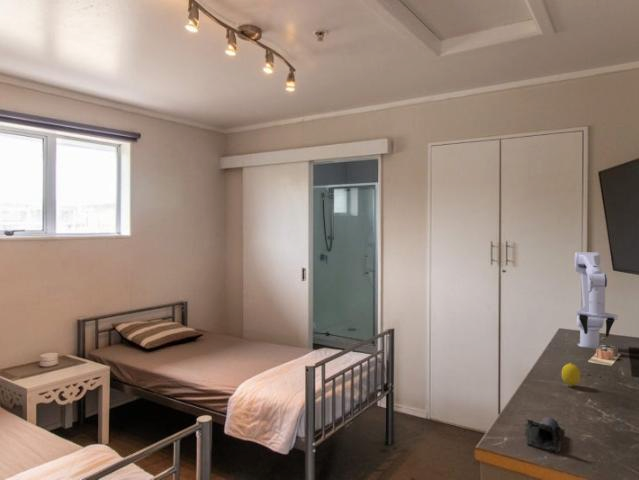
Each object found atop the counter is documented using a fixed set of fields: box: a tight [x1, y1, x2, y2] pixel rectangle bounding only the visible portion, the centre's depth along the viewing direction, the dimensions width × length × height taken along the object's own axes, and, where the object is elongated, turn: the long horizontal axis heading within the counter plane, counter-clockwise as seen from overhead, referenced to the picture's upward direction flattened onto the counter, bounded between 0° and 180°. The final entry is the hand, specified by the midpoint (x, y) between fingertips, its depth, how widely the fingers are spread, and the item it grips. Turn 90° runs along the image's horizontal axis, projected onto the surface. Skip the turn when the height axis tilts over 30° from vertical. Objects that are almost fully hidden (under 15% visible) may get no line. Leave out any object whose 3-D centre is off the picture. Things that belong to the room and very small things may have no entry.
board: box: [587, 344, 621, 367], centre depth 184 cm, size 21×8×5 cm, turn 139°
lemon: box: [561, 362, 581, 387], centre depth 155 cm, size 6×6×8 cm
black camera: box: [524, 416, 566, 454], centre depth 116 cm, size 9×8×12 cm
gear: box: [595, 349, 613, 360], centre depth 184 cm, size 6×6×3 cm
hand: (596, 334), depth 189 cm, fingers open, 7 cm apart
